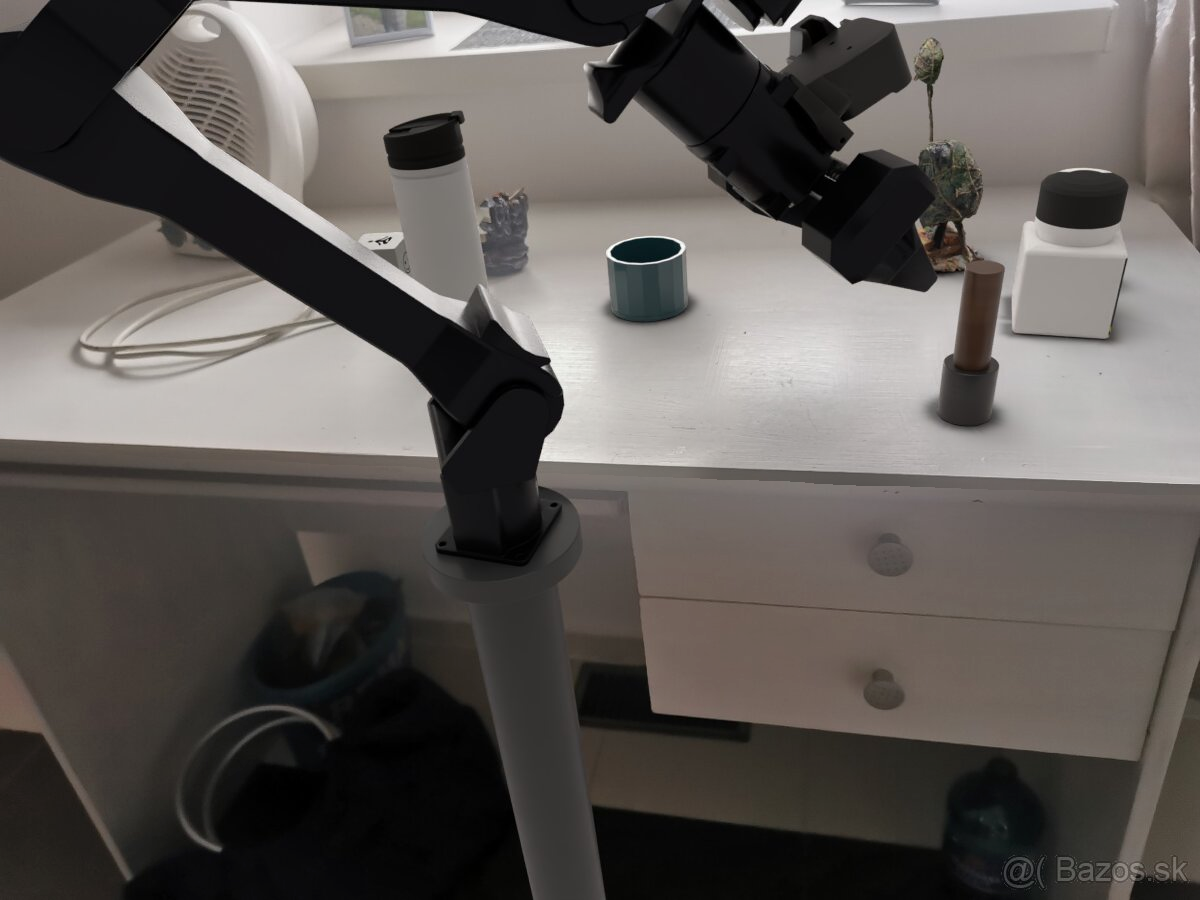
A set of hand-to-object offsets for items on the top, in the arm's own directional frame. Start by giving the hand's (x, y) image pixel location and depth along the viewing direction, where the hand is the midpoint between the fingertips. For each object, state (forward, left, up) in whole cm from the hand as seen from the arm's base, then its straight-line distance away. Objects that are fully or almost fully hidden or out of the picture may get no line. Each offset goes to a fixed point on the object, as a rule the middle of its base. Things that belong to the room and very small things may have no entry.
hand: (889, 259), depth 57 cm
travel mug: (+8, +36, -13) cm, 39 cm away
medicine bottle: (+21, -13, -13) cm, 28 cm away
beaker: (+19, +22, -13) cm, 32 cm away
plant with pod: (+33, -3, -13) cm, 35 cm away
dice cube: (+20, +51, -13) cm, 56 cm away
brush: (+4, -6, -13) cm, 15 cm away
